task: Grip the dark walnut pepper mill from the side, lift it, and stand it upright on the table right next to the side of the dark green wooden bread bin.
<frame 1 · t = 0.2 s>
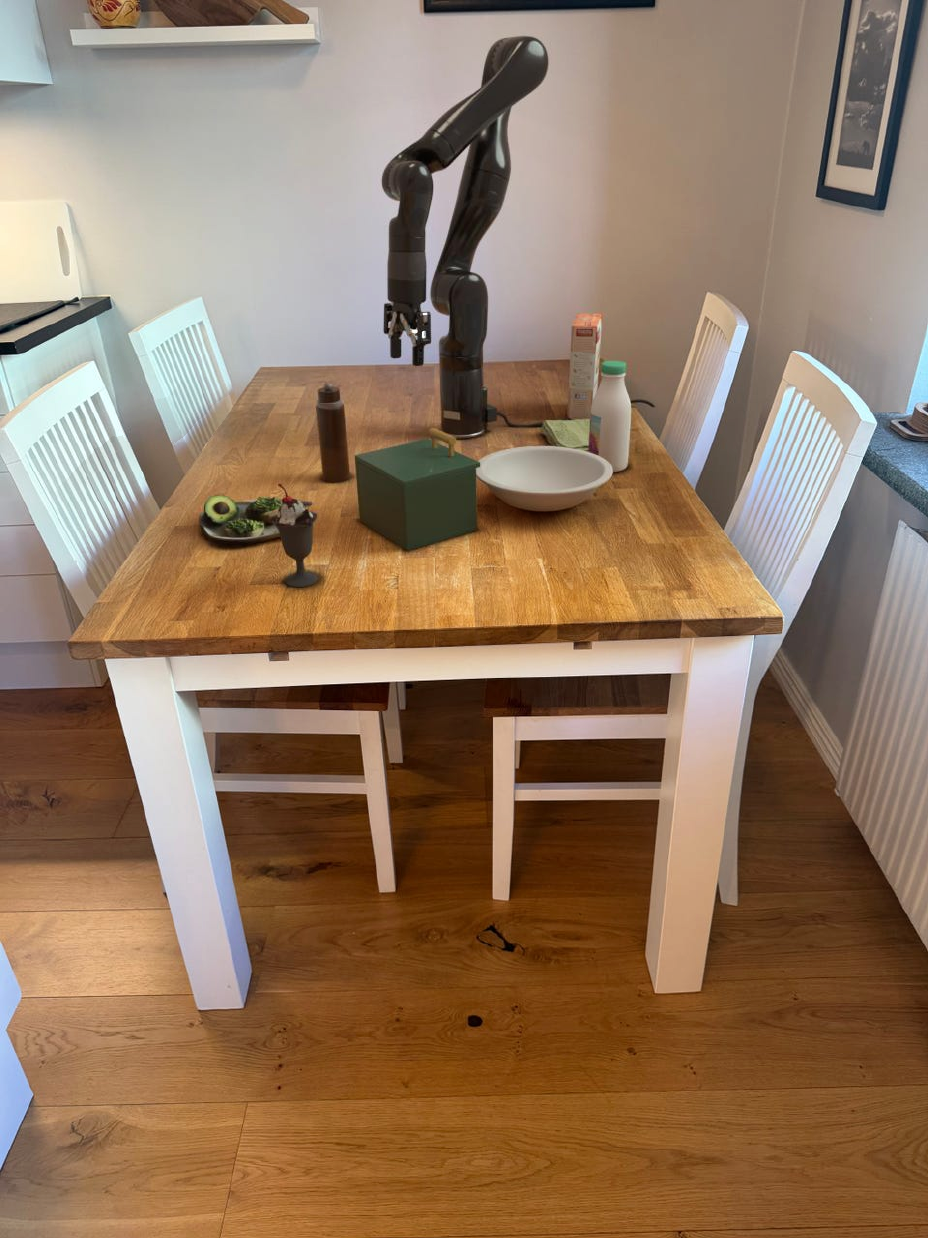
hand: (406, 361, 184), 17 cm above the table, tool pointing down, fingers open, 8 cm apart
cracker box: (582, 413, 211), on the table
salad plate: (249, 527, 156), on the table
bin lid: (416, 450, 149), point 13 cm above the table, hinge at 0.0°
bread bin: (417, 525, 155), on the table
milk bottle: (607, 467, 179), on the table
pepper mill: (336, 477, 176), on the table
soup bowl: (542, 504, 163), on the table
sundae: (301, 581, 138), on the table
washcloth: (579, 444, 192), on the table
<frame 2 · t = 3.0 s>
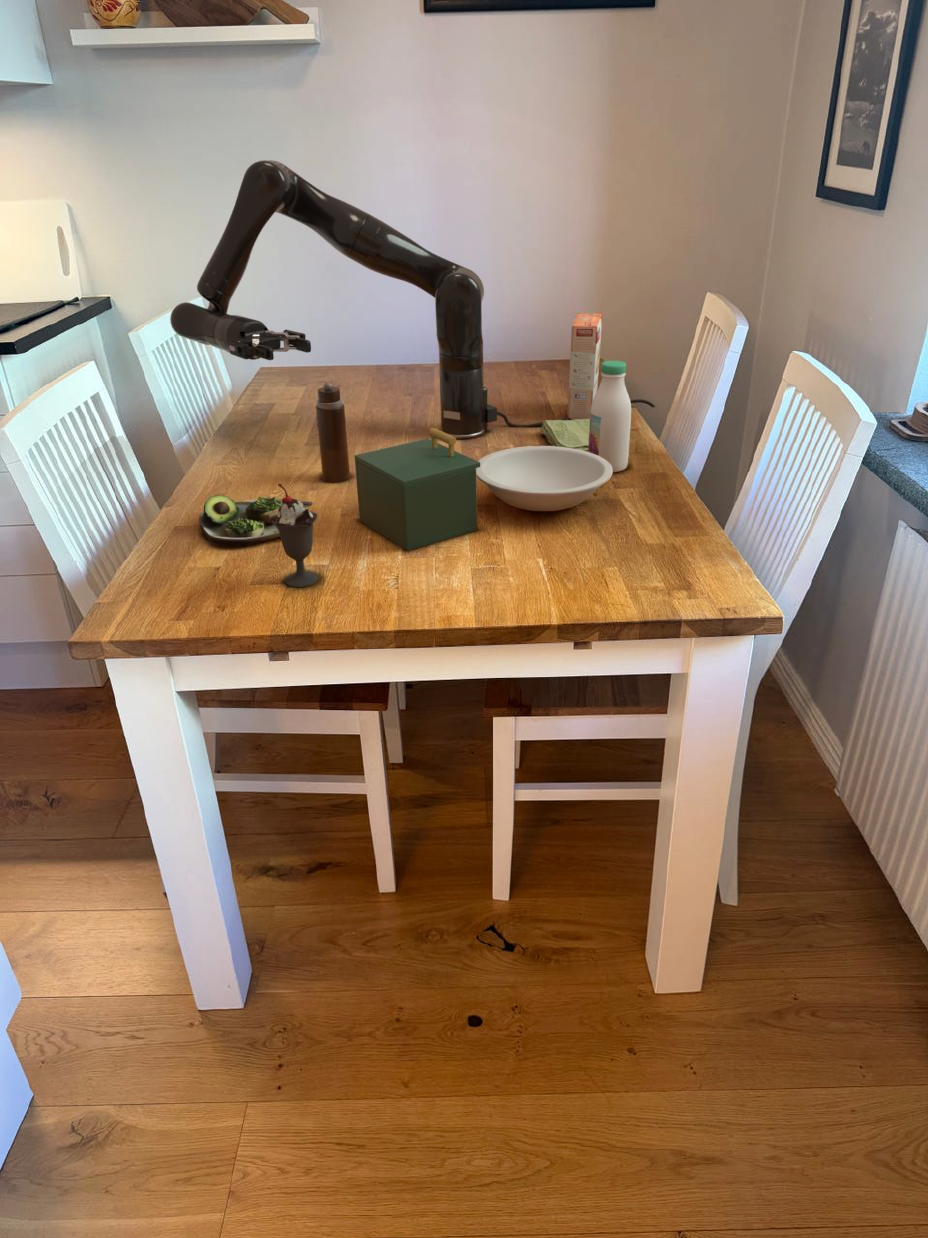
hand: (290, 350, 172), 22 cm above the table, tool horizontal, fingers open, 8 cm apart
nothing on the table moved.
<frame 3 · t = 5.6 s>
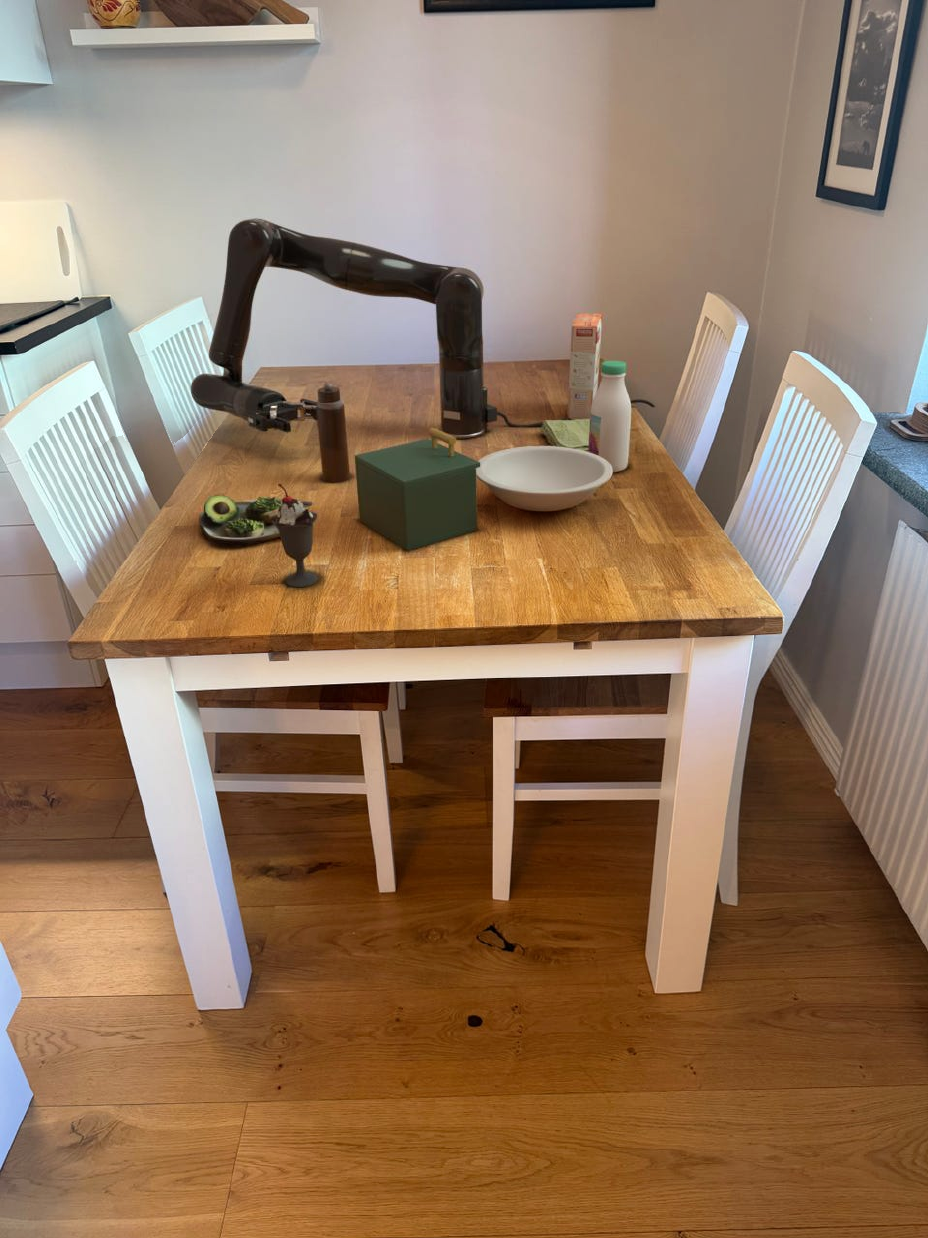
hand: (307, 421, 177), 9 cm above the table, tool horizontal, fingers open, 8 cm apart
nothing on the table moved.
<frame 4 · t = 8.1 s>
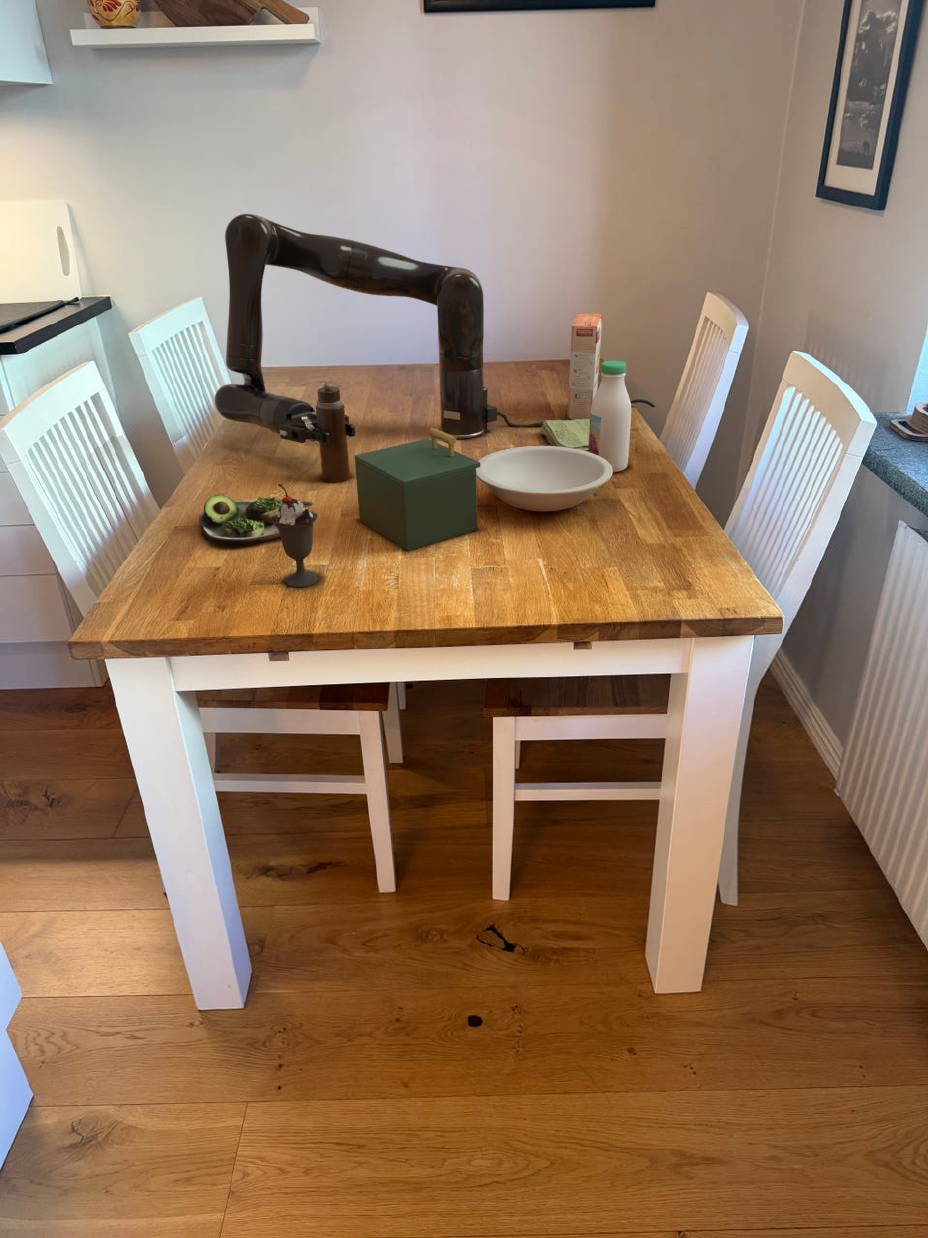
hand: (340, 434, 170), 9 cm above the table, tool horizontal, fingers closed on pepper mill, 5 cm apart
pepper mill: (336, 477, 176), on the table, touching gripper
everything else where it was.
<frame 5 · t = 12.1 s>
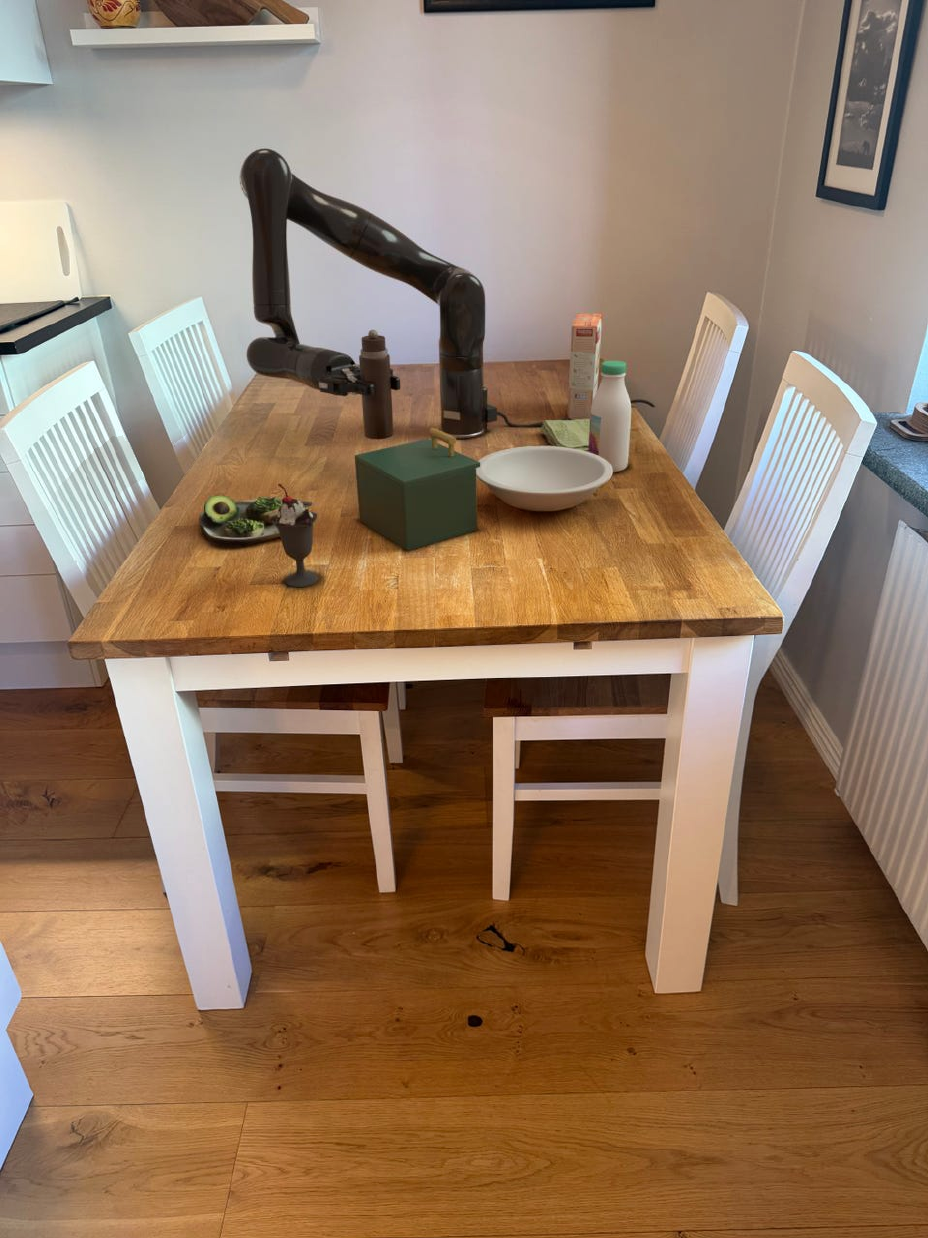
hand: (385, 387, 158), 20 cm above the table, tool horizontal, fingers closed on pepper mill, 5 cm apart
pepper mill: (378, 434, 164), point 11 cm above the table, touching gripper
everything else where it was.
when the fingers open (9 cm above the table, at t = 16.0 s): pepper mill stays where it is, on the table.
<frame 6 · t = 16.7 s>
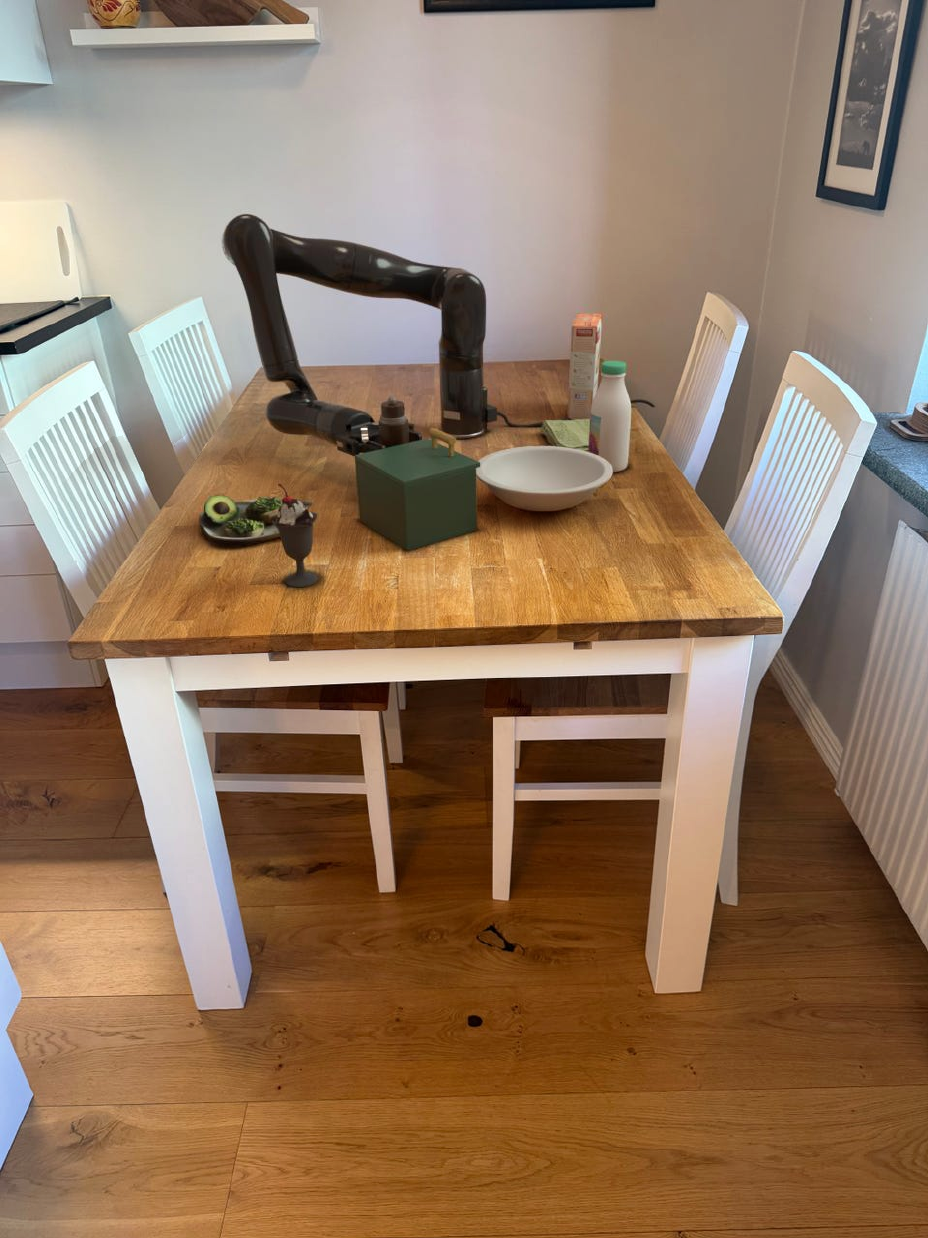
hand: (402, 445, 162), 10 cm above the table, tool horizontal, fingers open, 8 cm apart
pepper mill: (397, 496, 167), on the table
everything else where it was.
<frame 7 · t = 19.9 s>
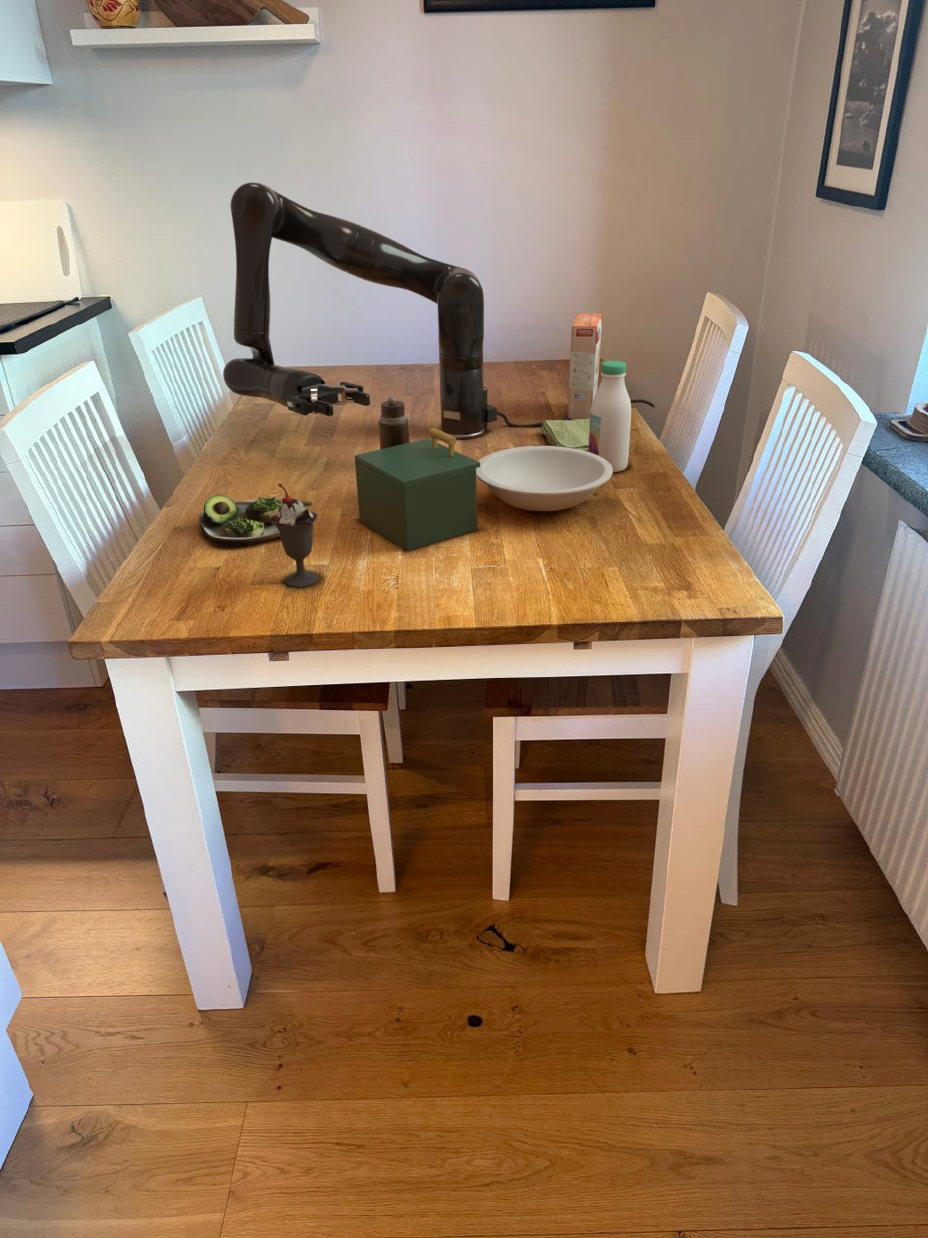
hand: (350, 405, 168), 14 cm above the table, tool horizontal, fingers open, 8 cm apart
nothing on the table moved.
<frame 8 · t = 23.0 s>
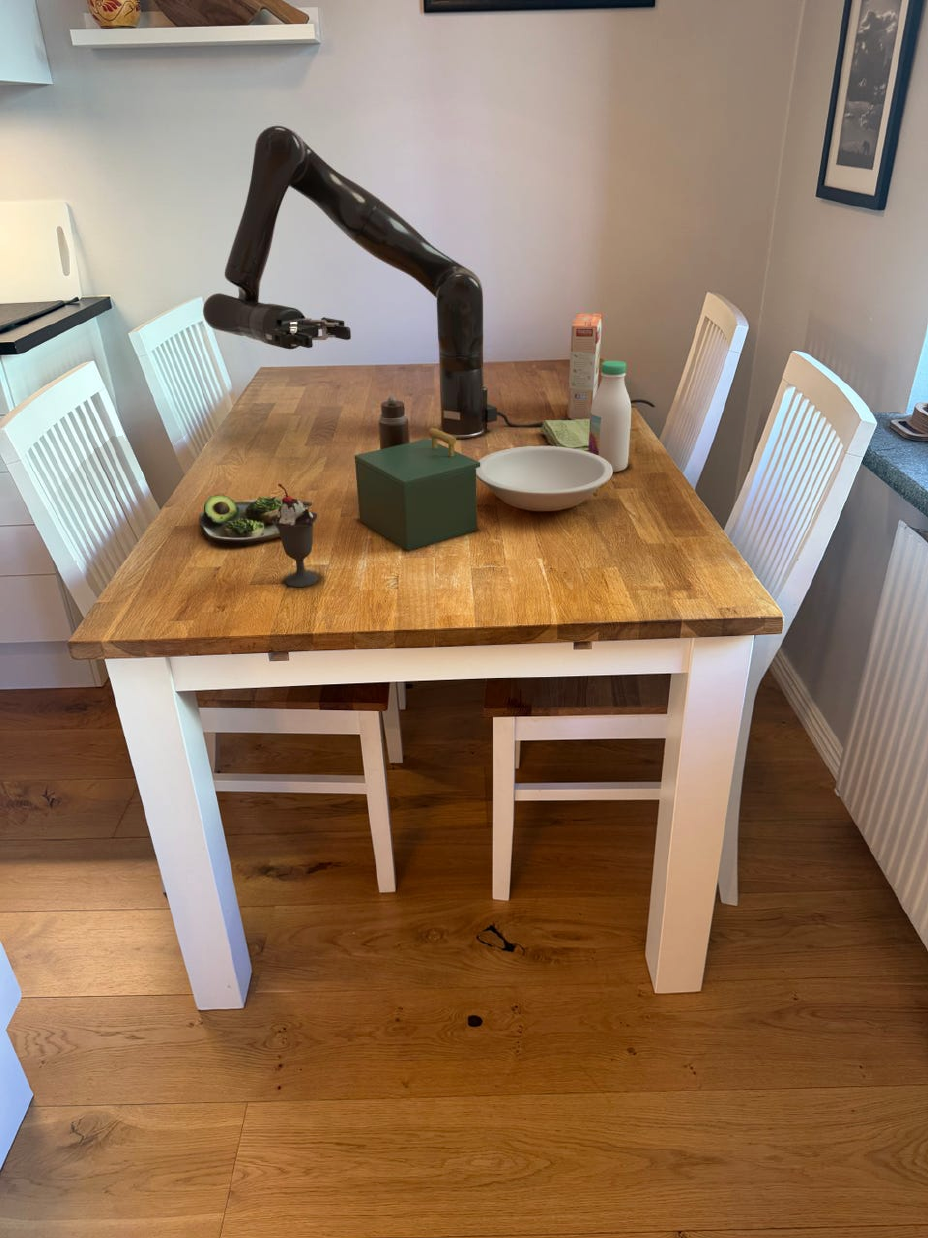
hand: (330, 337, 165), 26 cm above the table, tool horizontal, fingers open, 8 cm apart
nothing on the table moved.
at the end: pepper mill inside the target area on the table beside the bread bin (0.4 cm from its centre), on the table; pepper mill tilted 0°; the gripper is holding nothing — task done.
